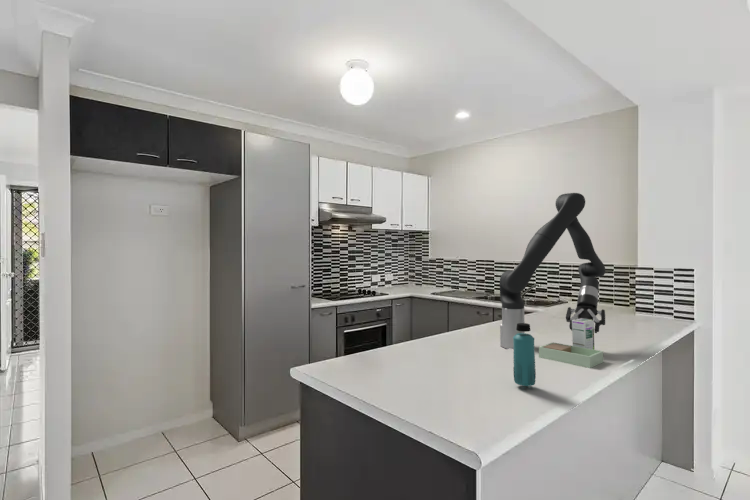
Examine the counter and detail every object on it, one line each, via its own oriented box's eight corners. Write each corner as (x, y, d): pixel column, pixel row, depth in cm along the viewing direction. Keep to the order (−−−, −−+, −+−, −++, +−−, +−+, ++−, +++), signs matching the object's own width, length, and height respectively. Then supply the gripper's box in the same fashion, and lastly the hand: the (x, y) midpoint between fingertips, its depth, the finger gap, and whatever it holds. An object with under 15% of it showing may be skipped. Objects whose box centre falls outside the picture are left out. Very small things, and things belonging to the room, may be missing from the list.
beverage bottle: (539, 391, 125) (538, 325, 124) (517, 391, 125) (516, 325, 125) (531, 383, 131) (530, 321, 131) (510, 384, 131) (509, 321, 131)
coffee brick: (543, 357, 160) (543, 346, 160) (553, 353, 165) (553, 343, 165) (561, 360, 154) (561, 350, 154) (571, 356, 160) (571, 346, 159)
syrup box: (585, 358, 159) (585, 321, 159) (572, 355, 164) (571, 319, 164) (594, 356, 162) (594, 319, 161) (580, 353, 167) (580, 317, 167)
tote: (538, 358, 160) (538, 347, 160) (553, 353, 167) (553, 342, 167) (590, 369, 145) (589, 356, 145) (603, 363, 152) (603, 351, 152)
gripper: (568, 292, 175) (562, 323, 166) (606, 294, 167) (603, 327, 157) (570, 303, 179) (565, 334, 170) (607, 305, 171) (604, 338, 162)
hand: (583, 330), depth 164 cm, fingers open, 8 cm apart
